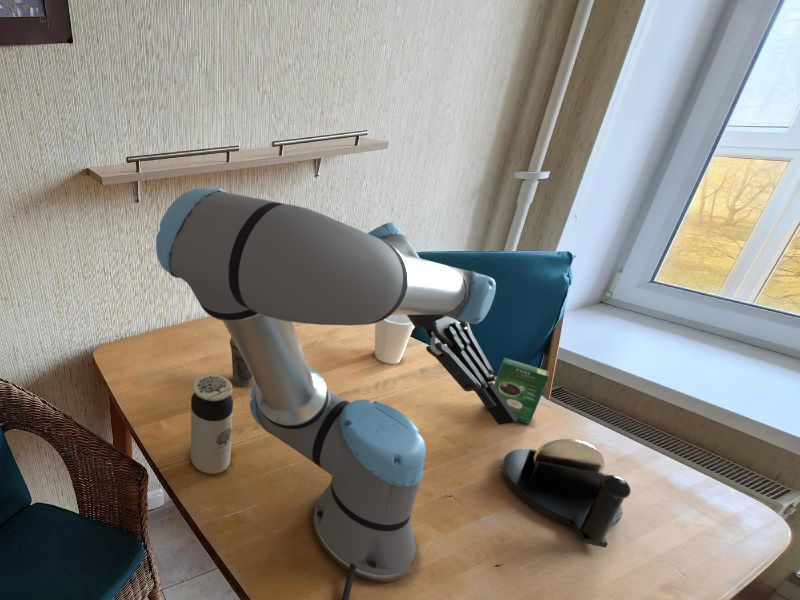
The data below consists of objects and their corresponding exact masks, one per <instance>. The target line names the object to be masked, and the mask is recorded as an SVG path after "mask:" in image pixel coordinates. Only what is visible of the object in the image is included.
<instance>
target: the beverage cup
mask: <svg viewBox="0 0 800 600" xmlns="http://www.w3.org/2000/svg"><path fill="white" fill-rule="evenodd" d="M229 345H230V346H229V347H230V351H231V365H232V377H233V383H234V385H236V386H238V387H243V388H246V387H249V386H250V385H251V384H252V379H253V376H252V374H251V372H250V370H249V369H248V367H247V365H246V363H245V361H244V359H243V357H242V356H241V354H240V352H239V350H238V348H237V346H236V345H235V343H234V341H233V339H232V337H231V336H230V340H229Z"/></svg>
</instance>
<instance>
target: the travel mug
mask: <svg viewBox="0 0 800 600" xmlns="http://www.w3.org/2000/svg"><path fill="white" fill-rule="evenodd" d="M191 388H192V391H193V393H192V395H191V398H190V460H191V462H192V465H193V466H194V467H195V468H196V469H197V470H198V471H200V472H202V473H206V474H209V475H212V474H220V473H222V472H224V471H226V470H227V468H228V467H229V466H230V463H231V454H232V433H233V431H232V430H233V413H234V410H233V409H234V399H233V396H232V395H231V394H232V392H233V385H232V382H230V380H229V379H227V378H226V377H224V376H221V375H219V374H213V373H211V374H203V375H200V376H198V377H197V378H196V379H194V381H193V382H192V387H191Z"/></svg>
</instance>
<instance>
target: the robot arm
mask: <svg viewBox="0 0 800 600" xmlns="http://www.w3.org/2000/svg"><path fill="white" fill-rule="evenodd" d="M155 253H156V257H157V260H158V262H159V264H160V266H161V267H162V268H163V270H165V271H166V272H167V273H169V275H170V276H172V277H174V278H177V279H181V280H182V281H184V282H185V283H186V284H187V285H188V286H189V288H190V290H191V291H192V293H193V294H194V296H195V298H196V300H197V302H198V304H199V305H200V307H201V308H202V310H203V311H204V312H205V313H206V314H207V315H208V316H210V317H212V318H214V319H216V320H219V321H222V323H223V324H224V326H225V329H226V330H227V332H228V334H229V335H230V338H231V337H232V339H233V341H234V343H235V345H236V346H237V348H238V350H239V352H240V354H241V356H242V357H243V359H244V361H245V363H246V365H247V367H248V369H249V370H250V372H251V374H252V379H253V380H254V382H255V383H254V385H253V386H252V389H251V394H250V398H251V400H250V402H249V409H250V413H251V416H252V417H253V420H255V422H256V423H257V424H258V425H259V426H260V427H261V428H262V429H263V430H265V432H267V433H268V434H270V435H271V436H274V437H275V438H277V439H278V440H280V441H281V442H283V443H284V444H285V445H287V446H288V447H290V448H291V449H293V450H295V451H296V452H297V453H299V454H300V455H302V456H303V457H304V458H306V459H308V460H309V461H311V462H312V463H314V464H315V465H317V466H318V467H319V468H321V470H323V471H325V472H326V473H327V474H329V475H330V476H331V481H330V483H329V485H328V486H327V487H326V489H325V490H324V492H323V493H321V495H320V496H319V498H318V500H317V502H316V504H315V507H314V511H313V528H314V532H315V536H316V538H317V541H318V542H319V544H320V546H321V547H322V549H323V550H324V551H325V553H326V554H327V555H328V556H329V558H331V560H333V562H335V563H336V564H337V565H338V566H340V568H342V569H343V570H345V571H347V575H346V579H345V583H344V587H343V593H342V596H341V600H349V599H350V595H351V590H352V585H353V581H354V578H355V577H358V578H360V579H363V580H366V581H370V582H375V583H392V582H396V581H398V580H400V579H402V578H404V577H405V576H406V575H408V573H410V570H411V569H412V567H413V565H414V561H415V557H416V553H417V546H416V545H417V544H416V537H415V534H414V529H413V523H412V518H411V517H412V512H413V510H414V505H415V501H416V498H417V495H418V490H419V486H420V483H421V480H422V479H423V477H424V474H425V473H424V471H425V467H424V466H425V461H426V455H427V448H426V442H425V440H424V438H423V437H422V436H421V432H420V430H419V429H418V427H417V425H415V423H414V422H412V421H411V420H410V418H408V417H407V416H406V415H405V414H403V413H402V412H401V411H399V410H397V409H396V408H394V407H392V405H391V406H390V405H388V404H386V403H384V402H381V401H378V400H374V401H373V402H372V401H370V399H357V400H353V401H351V402H350V401H348V400H346V399H345V398H343V397H342V396H339V395H338V394H336V393H334V392H333V391H331V390H329V389H328V387H327V384H326V381H325V379H324V378H323V376H322V374H320V372H319V370H317V369H316V368H315V367H314V366H313V365H310V364H309V363H308V361H307V359H306V356H305V352H304V350H303V348H302V345H301V342H300V339H299V337H298V334H297V332H296V329H295V327H294V323H297V324H307V325H321V326H365V325H367V326H368V325H373V324H375V323H377V322H380V321H382V320H384V319H386V318H388V317H389V316H391V315H407V316H408V318H409V319H410V321H411V322H412V324H413V325H414V326H415V327H414V328H423V330H424V331H425V334H426V337H427V338H428V339H429V340H430V345H427V346H426V347H425V350H426V351H427V352H428V353H429V354H430V355H431V356H432V357H434V358H435V359H436V360H437V361H438V362H439V363H440V364H441V366H442V367H443V368H444V369H445V370H446V371H447V372H448V373H449V375H450V376H451V377H452V378H453V380H455V381H456V383H457V384H458V385H459V386H460V387H461V389H463V391H464V392H468V393H469V392H472V391H473V392H474V393H475V394H476V395H477V397H478V398H479V399H480V401H481V403H482V404H483V405H484V406H485V408H486V410H487V411H488V412H489V414H490V415H491V417H492V419H493V420H494V421H495V423H496V424H497V426H502V425H509V424H514V423H516V422H517V419H518V418H517V416H516V415H515V414H514V412H513V411H512V409H511V408H510V407H509V405H508V404H507V402H506V401H505V399H504V398H503V397H502V395H501V394H500V392H499V391H498V390H497V388H496V387H495V385H494V382H495V381H496V380H497V375H494V373H495V371H494V369H493V368H492V366H491V364H490V362H489V360H488V359H487V357H486V355H485V354H484V351H483V350H482V348H481V347H480V345H479V343H478V341H477V339H476V338H475V336H474V334H473V331H472V330H471V326H470V324H472V325H477V324H479V323H481V322H482V321H484V320H485V318H486V316H487V315H488V313H489V311H490V309H491V307H492V304H493V302H494V299H495V295H496V291H497V284H496V281H495V279H493V278H492V277H491V276H488V275H485V274H481V273H477V272H476V271H474V270H468V269H467V270H466V269H462V268H458V267H454V266H450V265H447V264H442V263H439V262H435V261H431V260H427V259H424V258H421V257H420V256H419V254H418V253H417V252H416V250H415V249H414V247H413V246H412V244H411V243H410V242H409V240H408V237H407V236H406V234H405V233H403V232H402V230H401V229H400V228H399V227H398V226H397V225H396V224H395V223H394V222H386V223H383V224H381V225H379V226H378V227H375V228H374V229H372V230H371V231H369V232H365V231H362V230H360V229H358V228H356V227H353V226H351V225H348V224H347V223H344V222H341V221H339V220H337V219H334V218H332V217H331V216H327V215H326V214H323V213H320V212H317V211H315V210H312V209H309V208H306V207H303V206H298V205H294V204H288V203H283V202H278V201H273V200H268V199H263V198H257V197H253V196H247V195H242V194H236V193H231V192H228V191H226V190H225V189H224V188H223V189H222V188H204V187H199V188H193V189H189V190H188V191H186V192H184V193H182V194H181V195H179V196H178V197H177V198H176V199H174V201H173V202H171V204H170V205H169V206H168V208H167V210H166V211H165V212H164V214H163V216H162V218H161V220H160V223H159V230H158V233H157V234H156V239H155ZM460 321H461V322H460ZM491 375H492V376H491Z"/></svg>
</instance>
